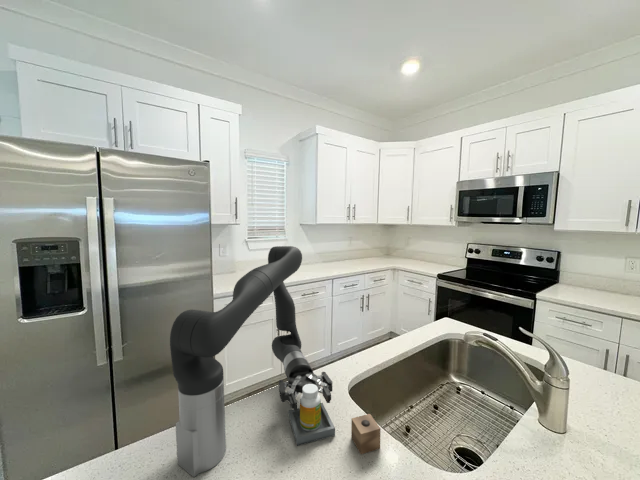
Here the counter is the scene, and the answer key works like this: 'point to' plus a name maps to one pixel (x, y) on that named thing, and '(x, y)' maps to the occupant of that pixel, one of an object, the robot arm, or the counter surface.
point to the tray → (311, 436)
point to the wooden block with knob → (365, 433)
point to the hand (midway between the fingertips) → (312, 403)
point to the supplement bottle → (310, 408)
